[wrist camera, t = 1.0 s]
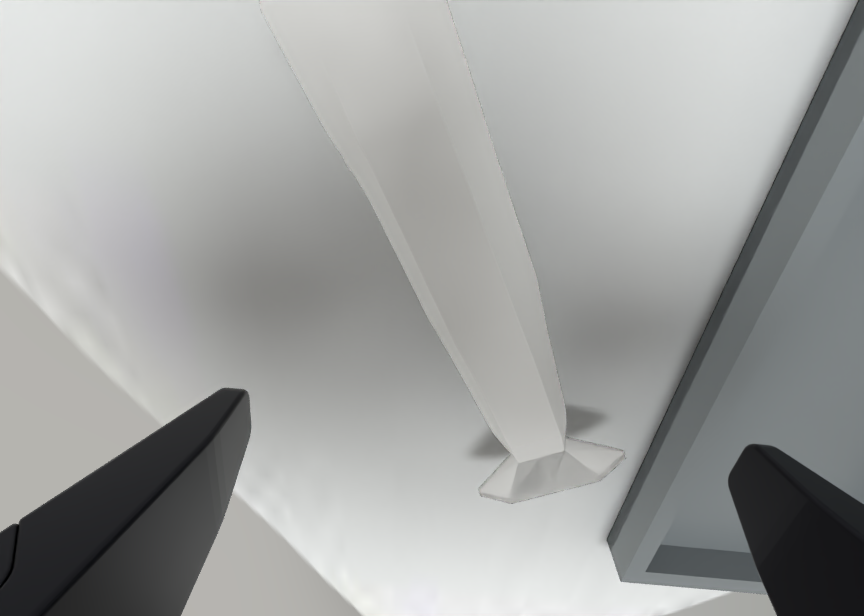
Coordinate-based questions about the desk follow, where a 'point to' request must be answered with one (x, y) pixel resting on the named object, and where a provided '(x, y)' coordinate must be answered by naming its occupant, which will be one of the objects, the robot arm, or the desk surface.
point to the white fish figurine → (443, 215)
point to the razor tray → (767, 357)
